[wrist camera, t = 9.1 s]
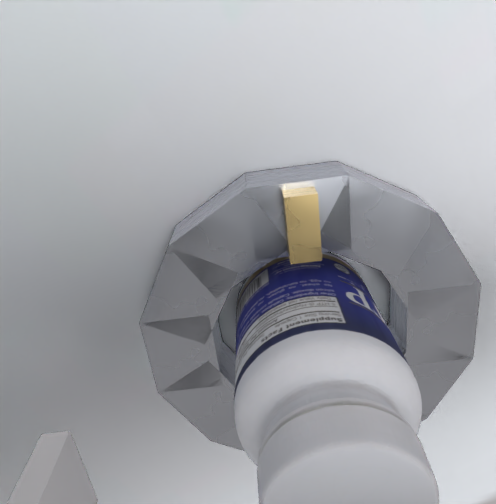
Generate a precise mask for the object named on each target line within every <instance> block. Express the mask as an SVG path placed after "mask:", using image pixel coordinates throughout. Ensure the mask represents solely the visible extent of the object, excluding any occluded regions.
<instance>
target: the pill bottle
mask: <svg viewBox="0 0 496 504" xmlns="http://www.w3.org/2000/svg"><path fill="white" fill-rule="evenodd" d="M234 413H235V424H236V430H237V434H238V437H239V440H240V442H241V445H242V447H243V449H244V450H245V452H246V454H247V455H248V457H249V458H250V459H251V460H252V461H253V462H254V464H256V465H257V478H258V493H259V504H439V491H438V486H437V482H436V479H435V476H434V474H433V471H432V469H431V467H430V464H429V462H428V459H427V457H426V454H425V452H424V449H423V446H422V444H421V442H420V440H419V438H418V437H417V433H418V430H419V427H420V422H421V416H422V400H421V394H420V390H419V387H418V384H417V381H416V379H415V377H414V374H413V372H412V370H411V368H410V366H409V364H408V362H407V360H406V359H405V357H404V355H403V354H402V352H401V350H400V348H399V346H398V344H397V342H396V341H395V339H394V337H393V335H392V333H391V331H390V329H389V328H388V326H387V324H386V323H385V321H384V319H383V317H382V315H381V313H380V312H379V310H378V308H377V306H376V304H375V302H374V301H373V299H372V297H371V295H370V293H369V291H368V289H367V287H366V285H365V284H364V282H363V280H362V278H361V277H360V275H359V274H358V273H357V272H356V270H355V269H354V268H353V267H352V266H350V265H349V264H348V263H347V262H345V261H344V260H343V259H341V258H339V257H337V256H335V255H333V254H331V253H327V252H323V253H322V261H315V262H307V263H298V264H290V260H289V257H281V258H275V259H273V260H272V261H271V262H269V263H268V264H266V265H265V266H263V267H262V268H260V269H259V270H257V271H256V272H254V273H253V274H251V275H250V276H249V277H248V278H247V279H246V281H245V282H244V284H243V286H242V288H241V291H240V293H239V297H238V301H237V312H236V367H235V390H234Z"/></svg>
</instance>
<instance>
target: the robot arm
mask: <svg viewBox="0 0 496 504" xmlns="http://www.w3.org/2000/svg"><path fill="white" fill-rule="evenodd" d="M97 501H98V499H97V497H96V494H95V492H94V489H93V487H92V484H91V482H90V479H89V477H88V474H87V472H86V469H85V467H84V464H83V462H82V459H81V457H80V454H79V452H78V449H77V447H76V445H75V442H74V440H73V437H72V435H71V432H70V431H63V432H54V433H46V434H41V436H40V438H39V440H38V442H37V444H36V446H35V448H34V450H33V452H32V454H31V456H30V458H29V460H28V462H27V464H26V466H25V468H24V470H23V472H22V474H21V476H20V478H19V480H18V482H17V484H16V486H15V488H14V490H13V492H12V494H11V496H10V498H9V500H8V502H7V504H97Z"/></svg>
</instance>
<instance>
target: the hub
mask: <svg viewBox="0 0 496 504" xmlns="http://www.w3.org/2000/svg"><path fill="white" fill-rule="evenodd" d="M331 251H332V252H334V253H337V254H339V255H342V256H345V257H347V258H350V259H352V260H355V261H357V262H360V263H363V264H365V265H368V266H370V267H373V268H375V269H378V270H380V271H381V272H382V273H383V274H384V276H385V277H386V279H387V280H388V281H389V283H390V322H389V323H388V325H387V326H388V328H389V329H390V331H391V333H392V335H393V337H394V339H395V341H396V342H397V344H398V346H399V348H400V350H401V352H402V354H403V355H404V357H405V359H406V360H407V362H408V364H409V366H410V368H411V370H412V372H413V374H414V377H415V379H416V381H417V384H418V387H419V390H420V394H421V400H422V416H421V421H423V420H425V419H427V418H428V416H429V415H430V414H431V412H432V411H433V410H434V409H435V407H436V406H437V405H438V403H439V402H440V401H441V399H442V398H443V397H444V396H445V394H446V393H447V392H448V390H449V389H450V388H451V386H452V385H453V384H454V382H455V381H456V380H457V379H458V377H459V376H460V375H461V373H462V372H463V371H464V369H465V368H466V367H467V366H468V364H469V363H470V362H471V360H472V359H473V354H474V345H475V335H476V325H477V316H478V306H479V296H480V287H481V283H480V281H479V279H478V278H477V276H476V275H475V273H474V271H473V270H472V268H471V266H470V265H469V263H468V261H467V260H466V258H465V257H464V255H463V253H462V252H461V250H460V248H459V247H458V245H457V244H456V242H455V240H454V239H453V237H452V235H451V234H450V232H449V230H448V229H447V227H446V226H445V224H444V222H443V221H442V219H441V217H440V216H439V214H438V213H437V212H436V211H434V210H433V209H432V208H431V207H430V206H428V205H427V204H426V203H425V202H423V201H422V200H421V199H420V198H418V197H417V196H416V195H414V194H412V193H410V192H407V191H405V190H403V189H400V188H398V187H396V186H393V185H391V184H389V183H386V182H384V181H382V180H379V179H377V178H375V177H372V176H370V175H368V174H365V173H363V172H361V171H359V170H356V169H354V168H352V167H349V166H347V165H345V164H342V163H340V162H338V161H333V162H325V163H318V164H310V165H302V166H294V167H287V168H279V169H271V170H263V171H256V172H248V173H244V174H243V175H242V176H240V177H239V178H238V179H236V180H235V181H234V182H233V183H231V184H230V185H229V186H227V187H226V188H225V189H223V190H222V191H221V192H219V193H218V194H217V195H215V196H214V197H213V198H211V199H210V200H209V201H207V202H206V203H205V204H203V205H202V206H201V207H199V208H198V209H197V210H195V211H194V212H193V213H191V214H190V215H189V216H187V217H186V218H185V219H184V220H182V221H181V222H180V223H178V224H177V225H176V227H175V230H174V232H173V235H172V238H171V240H170V243H169V245H168V248H167V251H166V253H165V256H164V259H163V261H162V264H161V267H160V269H159V272H158V275H157V277H156V280H155V283H154V285H153V288H152V291H151V293H150V296H149V299H148V301H147V304H146V307H145V309H144V312H143V315H142V317H141V320H140V323H139V324H140V327H141V331H142V335H143V338H144V342H145V346H146V349H147V353H148V357H149V360H150V364H151V368H152V371H153V375H154V379H155V382H156V386H157V390H158V393H159V394H160V395H161V396H162V397H163V398H165V399H166V400H167V401H168V402H169V403H170V404H171V405H172V406H173V407H174V408H175V409H177V410H178V411H179V412H180V413H181V414H182V415H183V416H184V417H185V418H186V419H188V420H189V421H190V422H191V423H192V424H193V425H194V426H195V427H196V428H197V429H198V430H200V431H201V432H202V433H203V434H204V435H205V436H206V437H207V438H208V439H209V440H211V441H213V442H216V443H220V444H223V445H226V446H230V447H233V448H237V449H240V450H243V451H245V450H244V449H243V447H242V445H241V442H240V440H239V437H238V434H237V430H236V424H235V413H234V390H235V367H236V355H235V354H234V353H233V352H232V351H231V349H230V348H229V347H228V346H227V345H226V344H225V343H224V342H223V341H222V338H221V333H220V327H219V322H218V316H219V314H220V312H221V309H222V307H223V305H224V303H225V301H226V299H227V296H228V294H229V292H230V290H231V288H232V287H234V286H235V285H237V284H238V283H240V282H241V281H243V280H244V279H246V278H247V277H249V276H250V275H251V274H253V273H254V272H256V271H257V270H259V269H260V268H262V267H263V266H265V265H266V264H268V263H269V262H271V261H272V260H273V259H275V258H281V257H289V260H290V264H298V263H307V262H315V261H322V253H323V252H331Z"/></svg>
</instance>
